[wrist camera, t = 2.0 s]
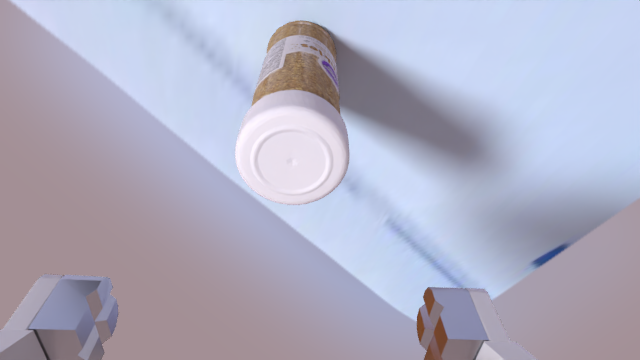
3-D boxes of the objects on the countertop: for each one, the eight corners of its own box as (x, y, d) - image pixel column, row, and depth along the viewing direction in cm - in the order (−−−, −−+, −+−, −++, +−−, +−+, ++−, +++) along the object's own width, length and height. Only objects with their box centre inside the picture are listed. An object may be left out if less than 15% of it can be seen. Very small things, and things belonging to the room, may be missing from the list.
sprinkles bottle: (350, 52, 27) (375, 160, 16) (303, 100, 29) (297, 226, 18) (297, 1, 26) (285, 83, 14) (251, 55, 27) (209, 165, 16)
